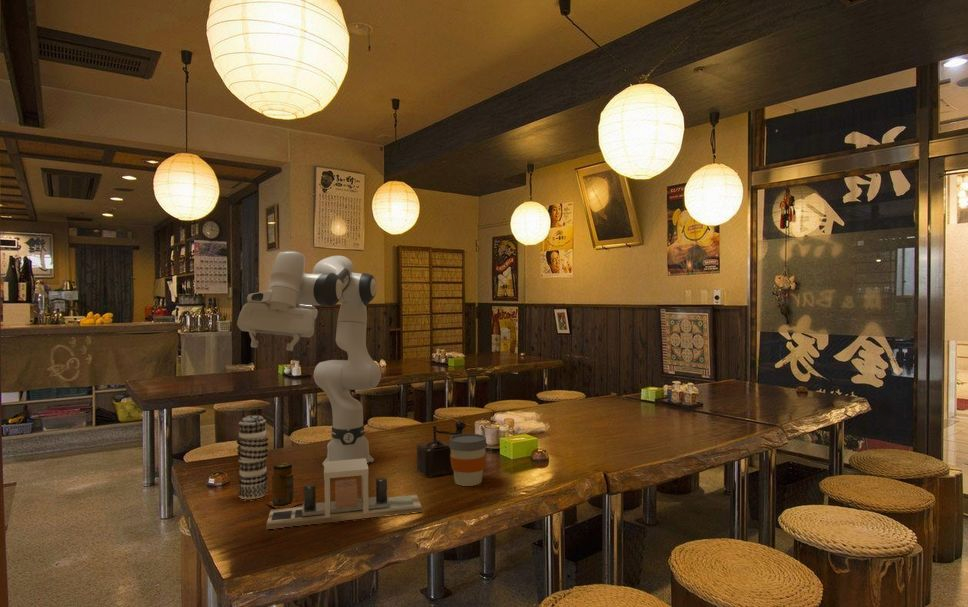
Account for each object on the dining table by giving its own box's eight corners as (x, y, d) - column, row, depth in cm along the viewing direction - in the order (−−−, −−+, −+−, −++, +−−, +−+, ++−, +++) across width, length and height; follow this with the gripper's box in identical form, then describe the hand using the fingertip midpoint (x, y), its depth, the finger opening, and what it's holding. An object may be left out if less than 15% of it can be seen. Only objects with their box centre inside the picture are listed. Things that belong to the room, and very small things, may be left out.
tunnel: (325, 504, 163) (324, 461, 163) (366, 499, 166) (366, 458, 166) (324, 518, 152) (323, 472, 152) (369, 513, 156) (368, 468, 155)
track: (270, 515, 159) (270, 509, 159) (416, 499, 170) (416, 494, 170) (266, 530, 148) (266, 524, 148) (422, 512, 160) (422, 507, 160)
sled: (303, 507, 159) (302, 483, 159) (387, 498, 166) (387, 475, 166) (302, 516, 153) (301, 491, 153) (389, 506, 159) (389, 482, 159)
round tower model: (232, 495, 175) (231, 417, 175) (261, 488, 181) (260, 412, 181) (244, 503, 168) (242, 421, 168) (273, 495, 175) (272, 416, 175)
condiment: (288, 498, 173) (287, 459, 172) (302, 505, 167) (301, 465, 167) (265, 504, 167) (265, 465, 167) (279, 511, 161) (278, 470, 161)
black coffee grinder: (427, 478, 190) (426, 426, 190) (416, 470, 200) (415, 420, 200) (468, 472, 197) (467, 421, 197) (455, 463, 207) (455, 415, 206)
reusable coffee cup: (466, 474, 194) (466, 431, 194) (494, 481, 186) (494, 436, 186) (441, 483, 184) (441, 438, 184) (470, 491, 177) (469, 444, 176)
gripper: (320, 310, 161) (312, 355, 156) (247, 302, 159) (236, 348, 153) (317, 301, 155) (308, 348, 150) (242, 293, 153) (230, 341, 148)
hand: (271, 348), depth 152 cm, fingers open, 8 cm apart
